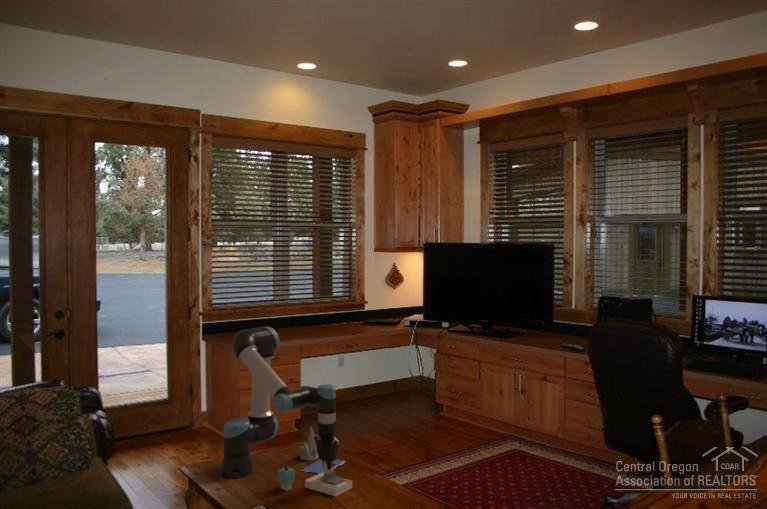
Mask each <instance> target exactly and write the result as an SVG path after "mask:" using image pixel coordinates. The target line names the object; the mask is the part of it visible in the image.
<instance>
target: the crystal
mask: <svg viewBox="0 0 767 509" xmlns="http://www.w3.org/2000/svg"><path fill="white" fill-rule="evenodd" d="M314 436H317V435H316V434H315V431H314V428H313V426H310V430H309V433H308V436H307V437H308V438H307V443H306V441H304V444H303V446H300V447H299V450H300V452H301V455H300V457H299V458H300V459H301V460H304V461H315V460H314V459H317V458H319V457H318V452H317V446H316V442H315V439H314ZM317 460H318V459H317Z"/></svg>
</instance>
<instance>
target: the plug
mask: <svg viewBox="0 0 767 509" xmlns="http://www.w3.org/2000/svg"><path fill="white" fill-rule="evenodd" d="M277 482H278V483H280V489H281V490H284V491H288V490H291V489H292V488H293V483H294V482H296V469H294V468H290V467H289V465H284V467H282V468H281V469H278V470H277Z"/></svg>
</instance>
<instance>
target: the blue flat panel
mask: <svg viewBox="0 0 767 509" xmlns="http://www.w3.org/2000/svg"><path fill="white" fill-rule="evenodd" d="M333 463H334V464H336V465H334V467H333V468H331V470H332V471H333V469H334V468H335V469H337V468H338V467H337V466H339V465H340V466H341V465H343V464H345V463H346V461H345V460H341V459H337V458H336V460H335V461H333ZM340 466H339V467H340ZM336 467H337V468H336ZM335 469H334V470H335ZM313 470H314V471H313ZM331 470H330V471H331ZM302 471H305V472H304V473H307V472H316V473H318V474H320V473H324V469H323V465H322V460H321V459H317V460H315V461H314V462H313V463H311V464H310V465H308V466H306V467H305V468H303V469H302V470H301V472H302Z"/></svg>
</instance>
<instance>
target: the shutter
mask: <svg viewBox="0 0 767 509" xmlns="http://www.w3.org/2000/svg"><path fill="white" fill-rule="evenodd" d="M344 479H345V478H343V477H339V476H336V470H335V469H334V470H332V471H331V472H328V473H326V474H324V483H328V484H331V485H337V484H339V483H341V482H343V481H344Z"/></svg>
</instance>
